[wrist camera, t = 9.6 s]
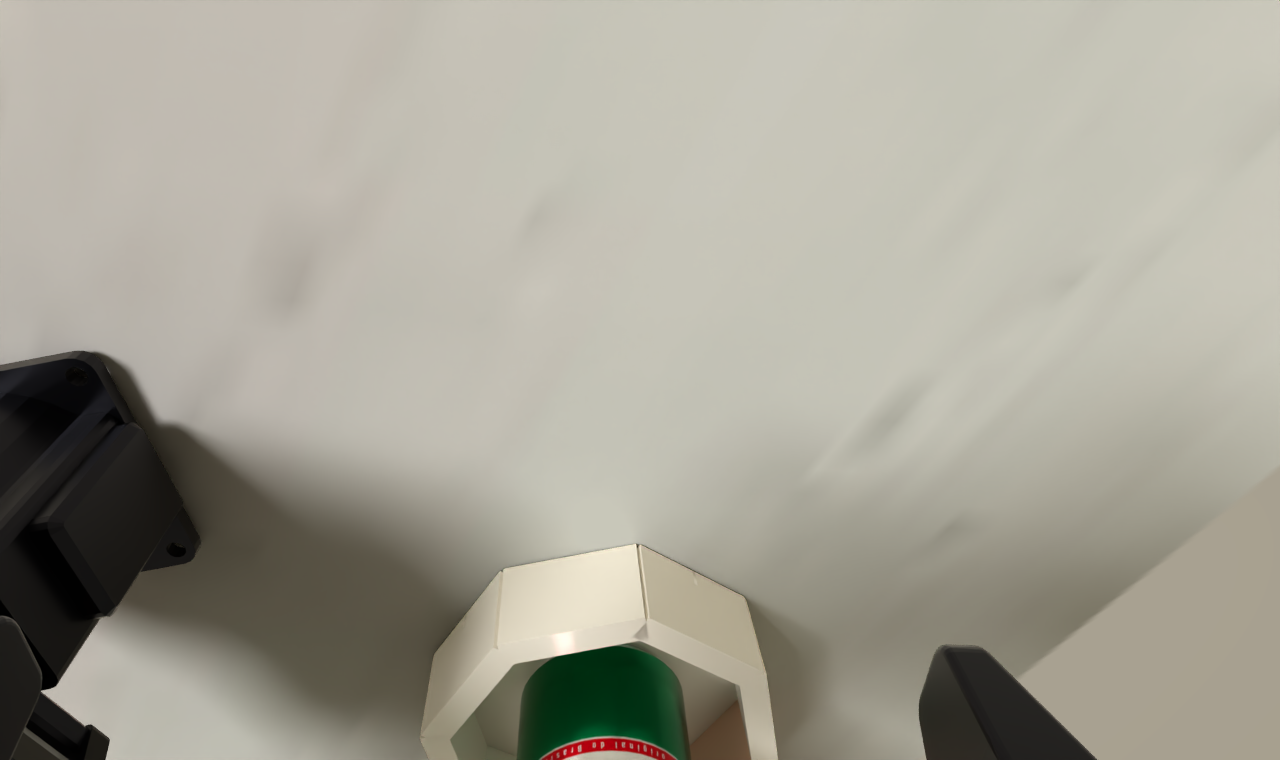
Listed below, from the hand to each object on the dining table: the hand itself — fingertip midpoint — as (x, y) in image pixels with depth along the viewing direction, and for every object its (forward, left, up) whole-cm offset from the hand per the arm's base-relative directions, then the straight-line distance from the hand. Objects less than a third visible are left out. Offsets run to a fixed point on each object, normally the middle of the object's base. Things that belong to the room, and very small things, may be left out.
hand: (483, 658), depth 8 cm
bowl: (-1, -15, -13) cm, 20 cm away
